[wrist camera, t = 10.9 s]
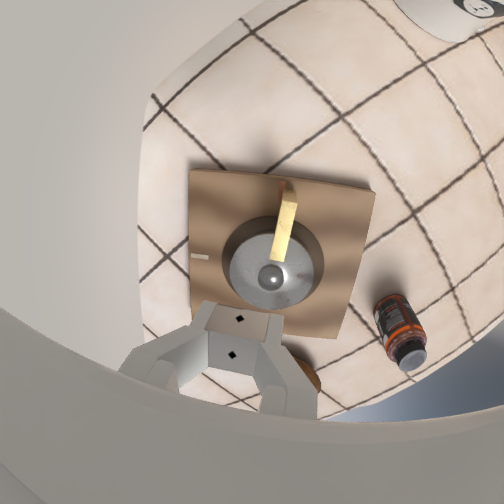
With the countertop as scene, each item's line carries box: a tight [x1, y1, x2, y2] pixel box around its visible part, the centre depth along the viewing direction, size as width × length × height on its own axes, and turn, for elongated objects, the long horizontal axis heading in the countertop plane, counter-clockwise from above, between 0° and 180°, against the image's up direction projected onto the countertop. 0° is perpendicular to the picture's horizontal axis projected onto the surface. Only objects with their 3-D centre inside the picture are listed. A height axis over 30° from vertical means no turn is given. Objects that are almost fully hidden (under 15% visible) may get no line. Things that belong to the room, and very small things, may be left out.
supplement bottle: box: [374, 295, 427, 372], centre depth 32 cm, size 6×6×11 cm
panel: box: [189, 169, 376, 339], centre depth 35 cm, size 22×22×2 cm
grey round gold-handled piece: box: [230, 188, 314, 310], centre depth 30 cm, size 15×10×6 cm, turn 170°
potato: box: [293, 357, 321, 393], centre depth 40 cm, size 7×12×7 cm, turn 64°
